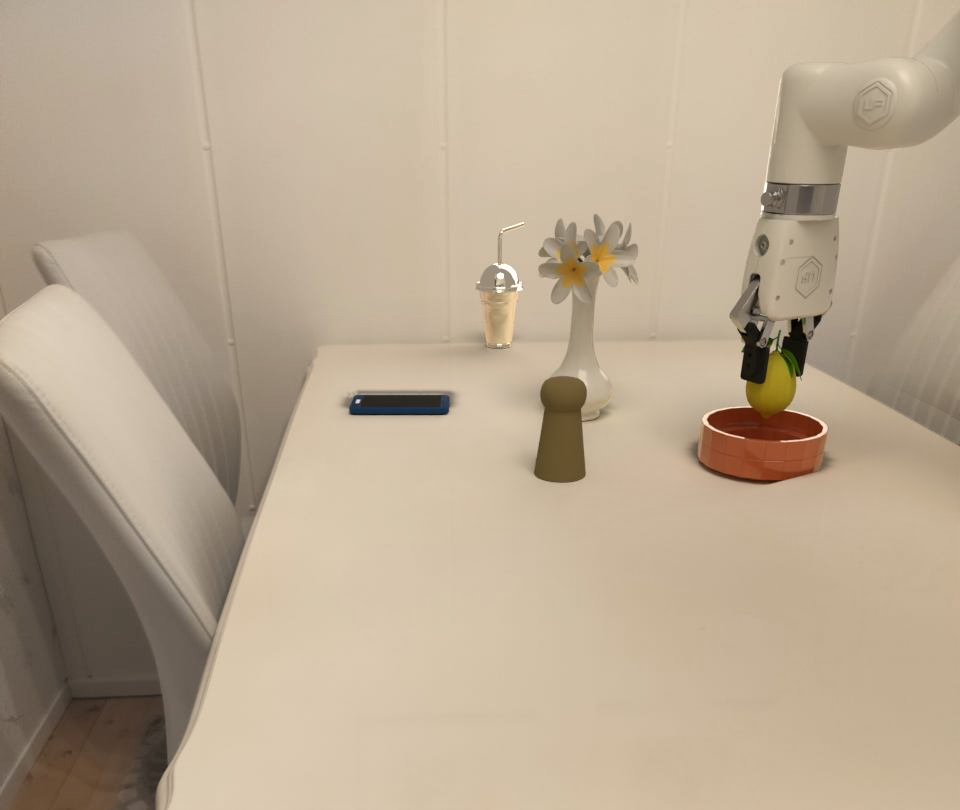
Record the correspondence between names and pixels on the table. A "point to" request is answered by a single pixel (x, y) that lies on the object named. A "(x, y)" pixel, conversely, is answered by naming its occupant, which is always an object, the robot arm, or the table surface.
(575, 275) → the flower vase
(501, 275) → the cup with straw
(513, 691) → the table surface
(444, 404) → the cell phone
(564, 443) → the olive game pawn
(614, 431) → the table surface
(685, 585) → the table surface
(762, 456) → the bowl
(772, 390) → the lemon
